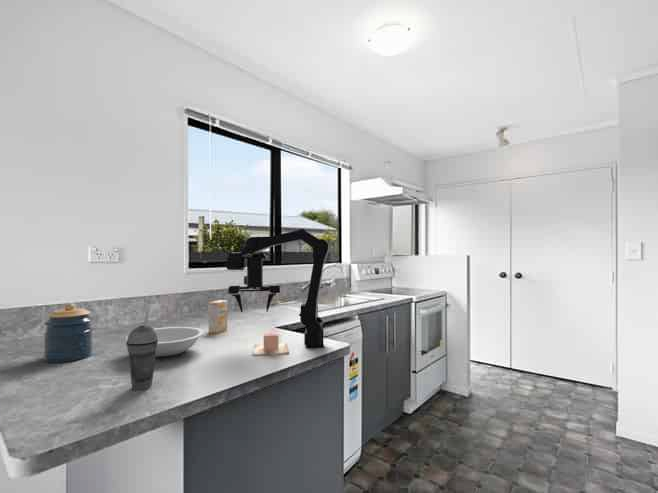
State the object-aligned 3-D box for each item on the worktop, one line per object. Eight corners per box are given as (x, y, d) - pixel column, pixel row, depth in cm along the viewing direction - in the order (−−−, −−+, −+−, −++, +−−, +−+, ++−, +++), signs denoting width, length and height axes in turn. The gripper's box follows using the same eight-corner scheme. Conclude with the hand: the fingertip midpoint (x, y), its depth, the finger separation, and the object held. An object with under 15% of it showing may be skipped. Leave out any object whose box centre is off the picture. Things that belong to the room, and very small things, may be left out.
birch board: (286, 344, 132) (286, 343, 132) (288, 354, 120) (289, 352, 120) (253, 346, 129) (253, 344, 129) (252, 355, 118) (252, 353, 118)
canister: (101, 353, 119) (102, 301, 119) (61, 365, 107) (62, 306, 107) (74, 350, 123) (75, 299, 124) (33, 360, 111) (34, 304, 111)
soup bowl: (107, 360, 112) (107, 339, 112) (165, 342, 135) (166, 324, 135) (166, 369, 104) (166, 346, 104) (218, 348, 127) (218, 329, 127)
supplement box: (218, 333, 149) (218, 302, 149) (208, 333, 150) (208, 302, 150) (227, 329, 157) (228, 299, 157) (217, 328, 158) (218, 299, 158)
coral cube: (277, 346, 128) (277, 332, 128) (278, 349, 123) (278, 335, 123) (263, 346, 127) (263, 332, 127) (263, 350, 122) (263, 336, 122)
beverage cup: (133, 382, 94) (134, 306, 94) (162, 381, 94) (163, 306, 94) (119, 393, 86) (120, 311, 87) (150, 392, 87) (151, 310, 87)
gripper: (279, 269, 142) (278, 308, 142) (231, 269, 139) (230, 309, 139) (280, 270, 131) (279, 312, 131) (228, 271, 128) (227, 314, 128)
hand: (254, 312), depth 133 cm, fingers open, 9 cm apart
